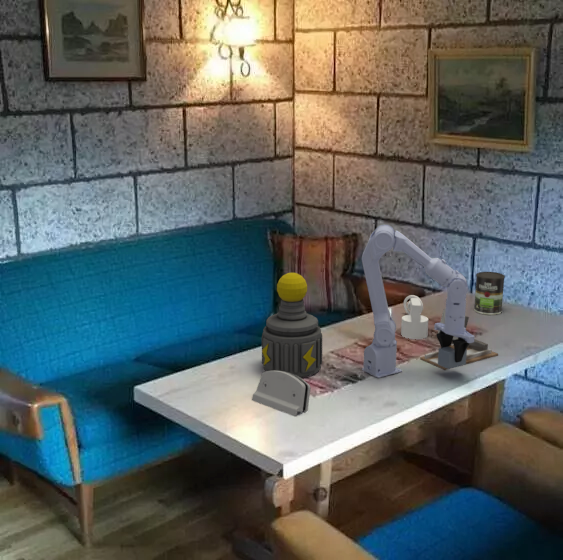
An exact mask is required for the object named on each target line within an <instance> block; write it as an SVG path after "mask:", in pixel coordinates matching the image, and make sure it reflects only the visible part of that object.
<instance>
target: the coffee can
mask: <svg viewBox="0 0 563 560" xmlns="http://www.w3.org/2000/svg"><path fill="white" fill-rule="evenodd" d="M475 277H476V279H475V294H474V307H473V311H474V312H475V313H477V314H481V315H485V316H486V315H487V316H495V315H496V314H497V315H500V314H502V313H501V312H503V310H502V309H503V299H504V298H503V297H504V285H505V277H506V276H505V274H504V273H500V272H495V271H479V272H477V273H476V274H475Z"/></svg>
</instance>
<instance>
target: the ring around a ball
mask: <svg viewBox="0 0 563 560" xmlns="http://www.w3.org/2000/svg"><path fill="white" fill-rule="evenodd" d="M410 298H419V299H420V303H421V314H422V313H423V311H424V304H423V301H422V300H421V298H420V297H419V296H417V295H414V294H410V295H408V296H406V297H405V298H404V300H403V305H402V306H403V310H404V311H405V313H406V314H407V315H410ZM408 300H409V301H408Z"/></svg>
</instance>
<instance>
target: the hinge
mask: <svg viewBox="0 0 563 560" xmlns="http://www.w3.org/2000/svg"><path fill="white" fill-rule="evenodd" d="M310 394H311V385H310V384H309V383H308V382H307V381H305V380H304V379H303V378H300V377H298V376H296V375H294V374H291V373H288V372H284V371H266V370H265V371H263V372H262V373H261V376H260V379H259V382H258V385H257V388H256V391H254V392H253V394H252V397H251V401H252V402H255V403H258V404H261V405H264V406H266V407H269V408H271V409H274V410H277V411H279V412H282V413H285V414H287V415H290V416H292V417H297V415H298V412H305V413H306V412H308V410H309V403H310Z"/></svg>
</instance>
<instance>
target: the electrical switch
mask: <svg viewBox="0 0 563 560" xmlns="http://www.w3.org/2000/svg"><path fill="white" fill-rule="evenodd" d="M445 310H446V307H444V309H443V311H442V314H441V318H440V322H439V323H443V324H445ZM469 318H470V317H469V316H467V315H465V324H464V328H466V329H467V326H468V324H469V323H468V322H469ZM439 332H440V331H439V330H437V334H438V333H439ZM456 339H458V338H457V337H455V336H453V339H452V341H453V340H456Z"/></svg>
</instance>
